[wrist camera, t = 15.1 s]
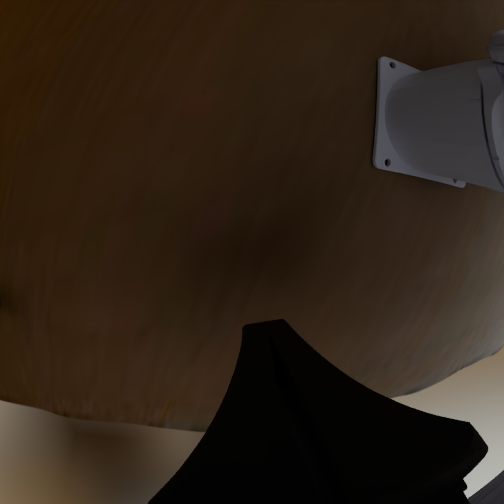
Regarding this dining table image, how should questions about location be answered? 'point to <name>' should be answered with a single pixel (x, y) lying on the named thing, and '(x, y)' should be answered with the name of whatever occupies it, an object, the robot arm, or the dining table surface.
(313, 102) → the dining table surface
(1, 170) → the dining table surface
